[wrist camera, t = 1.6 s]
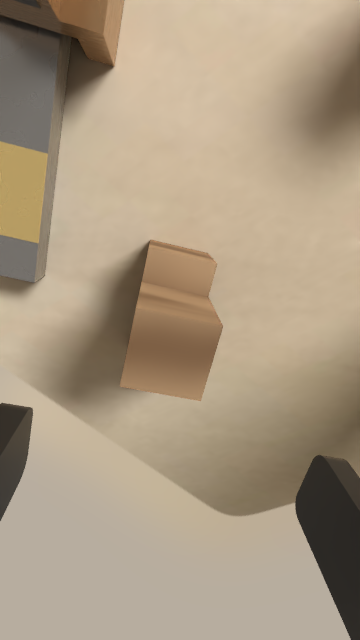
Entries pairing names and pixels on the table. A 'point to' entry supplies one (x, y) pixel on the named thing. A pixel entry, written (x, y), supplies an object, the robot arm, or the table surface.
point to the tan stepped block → (173, 324)
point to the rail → (39, 113)
